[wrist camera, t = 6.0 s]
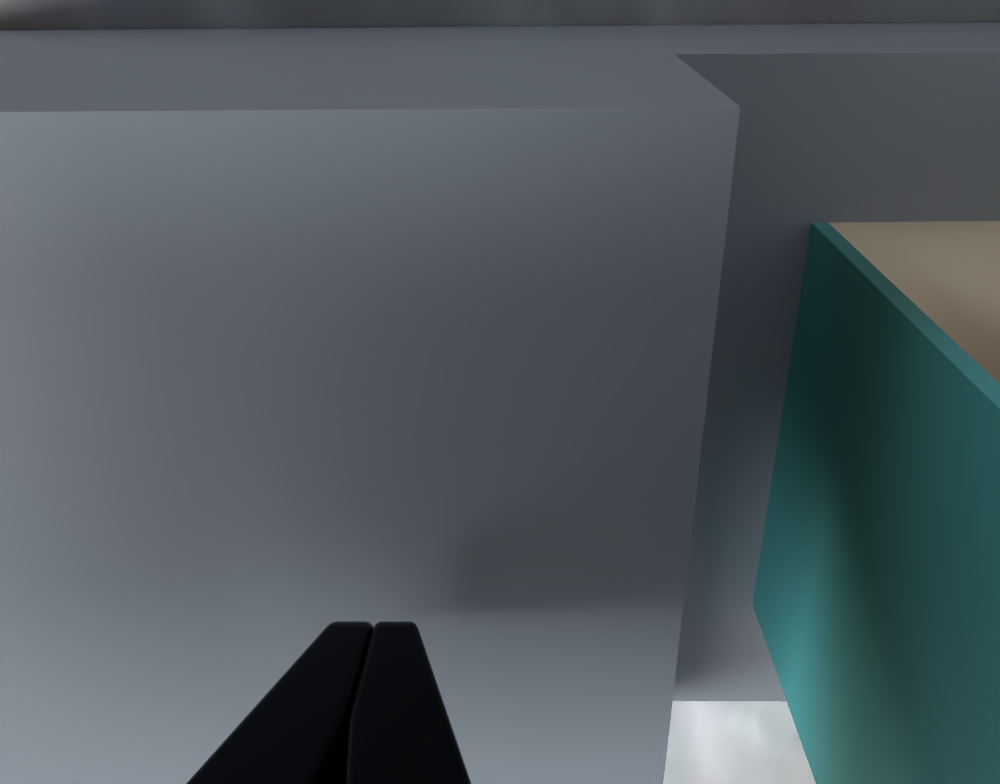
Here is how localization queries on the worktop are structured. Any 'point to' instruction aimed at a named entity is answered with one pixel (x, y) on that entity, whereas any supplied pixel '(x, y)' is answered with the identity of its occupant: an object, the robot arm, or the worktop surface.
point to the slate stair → (424, 362)
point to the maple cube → (890, 506)
